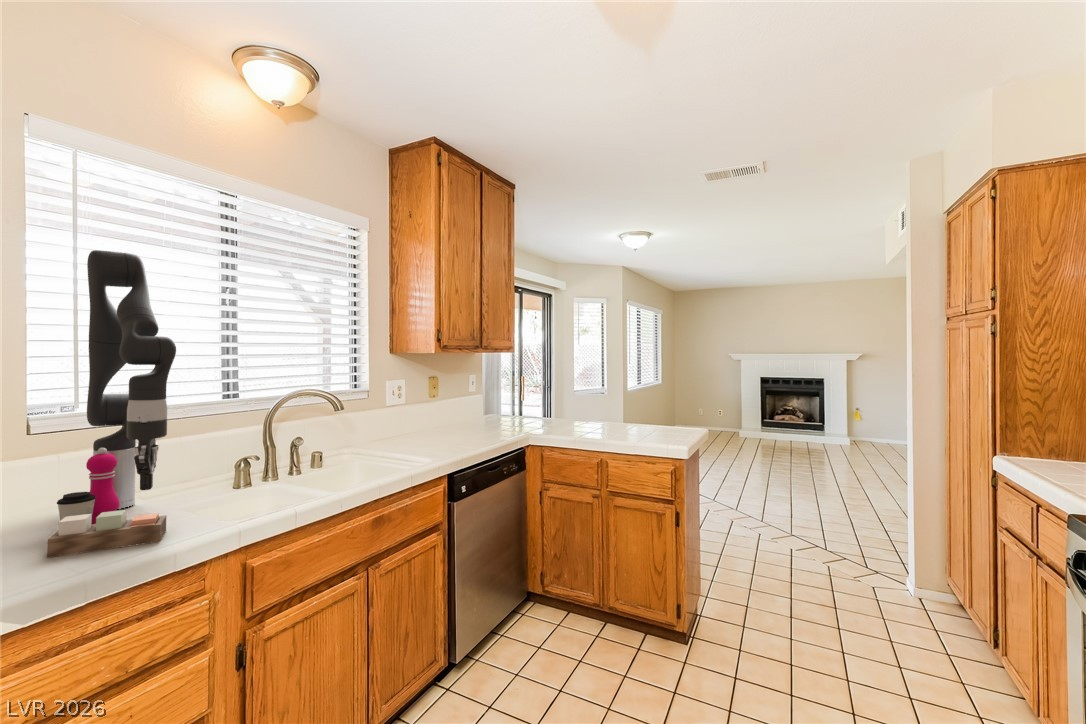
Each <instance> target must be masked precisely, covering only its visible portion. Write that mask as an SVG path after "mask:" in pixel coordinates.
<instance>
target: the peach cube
mask: <svg viewBox="0 0 1086 724" xmlns="http://www.w3.org/2000/svg"><path fill="white" fill-rule="evenodd" d="M159 516H160V515H159V512H157V513H149V514H141V515H135V516H134V517H133V518H132V519H133V520H132V519H131V520H132V521H131V526H134V525H142V524H150V523H155V524H156V523H157V522H158V520H159Z"/></svg>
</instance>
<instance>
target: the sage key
mask: <svg viewBox="0 0 1086 724" xmlns="http://www.w3.org/2000/svg"><path fill="white" fill-rule="evenodd" d="M126 520H127V509H119V510H116V511H111V512H102V513H101V514H100V515H99V516H98V517H97V518H96V531H102V530H109V529H117V528H123V527H124V526H125V524H126Z"/></svg>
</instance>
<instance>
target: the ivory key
mask: <svg viewBox="0 0 1086 724" xmlns="http://www.w3.org/2000/svg"><path fill="white" fill-rule="evenodd" d="M91 515H92V514H84V515H75V516H67V517H65V518H63V519H62V520H61V521H60V520H59V522H58V530H59V536H63V535H71V534H78V533H86V532H88V531H89V530H90V529H91Z"/></svg>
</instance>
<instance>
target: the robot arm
mask: <svg viewBox="0 0 1086 724" xmlns="http://www.w3.org/2000/svg"><path fill="white" fill-rule="evenodd" d="M86 266H87V281H88V295H89V327H88V363H89V365H88V366H89V377H88V378H89V381H88V390H87V400H86V401H87V402H86V403H87V404H86V419H87V422H88V424H89V426H92V427H109V426H110V427H111V426H122V427H121V428H120V429H119V430H117V431H116V432H114V433H112V434H109V435H106V436H103V437H100V438H98V439H95V440H94V441H93V444H92V445H93V446H92V447H93V448H92V450H93V451H92V452H93V453H92V454H93V455H92V456H94V455H96V454H99V453H98V450H99V449H100V448H106V449H107V452H106V453H108V454H112V455H114V456H115V457H116V458H117V466H116V467H115V468H114V469H113V471H115V472H114V475H115V476H113V478H112V485H113V489H114V491H115V493H116V495H117V496H118V499H119V502H120V506H119V508H118V509H119V510H122V509H121V508H124V509H126V508H125V507H128V508H130V507H129V506H131V507H133V506H134V505H135V503H136V473H137V475H138V476H139V490H140V491H149V490H151V489H152V488H153V487H154V486H153V485H154V483H153V482H154V473H155V469H156V468H157V461H158V451H159V447H160V445H159V443H156V440H157V439H160V438H164V437H166V436H167V435H168V406H167V405H168V403H167V384H168V377H169V374H170V371H171V369H172V366H173V362H174V360H175V357H176V355H177V346H176V344H175V342H174V340H172V338H170V337H168V336H167V337H166V336H158V333H159V324H158V322H157V320H156V317H155V315H154V312H153V310H152V305H151V301H150V293H149V286H148V280H147V279H148V278H147V273H146V270H145V269H146V268H145V265H144V262H143V260H142V258H141V257H140V256H138V255H137V254H135V253H130V252H129V253H128V252H121V251H120V252H119V251H112V250H111V251H110V250H98V249H95V250H91V251H90V252H89V254H88V257H87V265H86ZM106 287H114V288H116V287H119V288H131V289H130V291H129V292H128V293H127V294H126V295H125V296H124V297H123V298H122V300H121V301H120V302H119V303H118V305H117V309H116V308H115V306H114V304H113V303H112V302H111V300H110V299H109V297H108V294H107V288H106ZM126 364H128V365H132V366H133V365H134V366H147V365H148V366H154V368H153V369H152V370H151V371H150V372H148V373H147V372H146V373H144V374H143V373H142V374H137V375H136V374H135V375H133V376H131V377H130V379H128V393H106V394H105V393H104V392H105V389H106V388H107V386H108V384H109V382H111V380H112V379H113V377H114V376H115V375H116V374H117V373H118V372H119V371H120V370H121V369H122V368H123V367H125V365H126ZM136 440H137V441H138V442H137V443H136ZM136 445H137V446H136ZM90 489H91V479H89V490H90ZM132 505H133V506H132Z"/></svg>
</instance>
